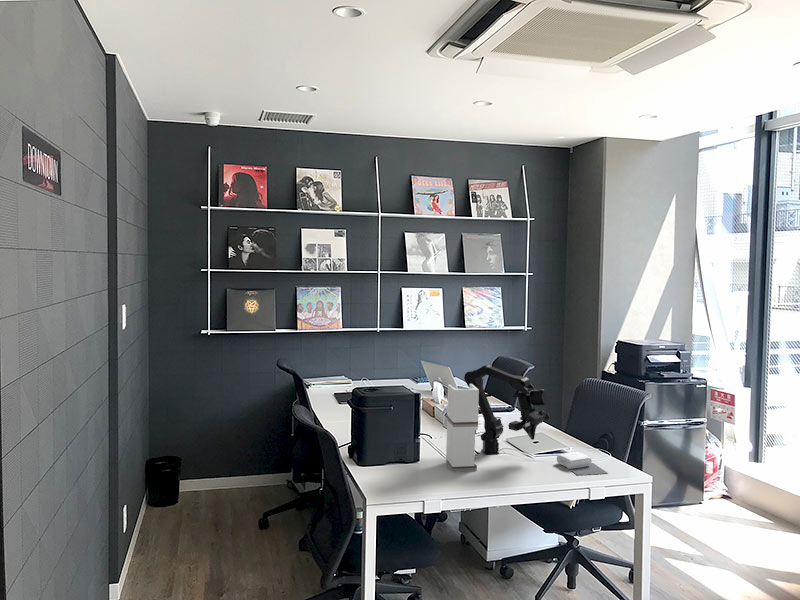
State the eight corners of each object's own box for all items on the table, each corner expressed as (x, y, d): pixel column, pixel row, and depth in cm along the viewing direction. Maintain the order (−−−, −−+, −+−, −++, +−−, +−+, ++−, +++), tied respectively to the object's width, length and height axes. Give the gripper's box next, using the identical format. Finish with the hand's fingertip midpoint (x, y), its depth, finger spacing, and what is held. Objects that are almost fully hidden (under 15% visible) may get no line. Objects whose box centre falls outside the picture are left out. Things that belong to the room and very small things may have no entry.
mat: (577, 475, 282) (577, 474, 282) (563, 465, 295) (563, 464, 295) (607, 473, 285) (608, 473, 285) (593, 463, 297) (593, 463, 297)
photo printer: (556, 453, 297) (579, 450, 302) (556, 462, 297) (578, 459, 302) (571, 460, 287) (594, 456, 292) (570, 470, 288) (594, 466, 293)
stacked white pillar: (476, 470, 286) (478, 389, 283) (452, 471, 284) (454, 390, 281) (469, 461, 297) (471, 383, 294) (446, 462, 295) (447, 384, 292)
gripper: (519, 414, 288) (526, 449, 289) (553, 401, 296) (560, 435, 297) (504, 411, 298) (511, 444, 299) (538, 399, 306) (545, 432, 307)
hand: (532, 439), depth 300 cm, fingers closed
